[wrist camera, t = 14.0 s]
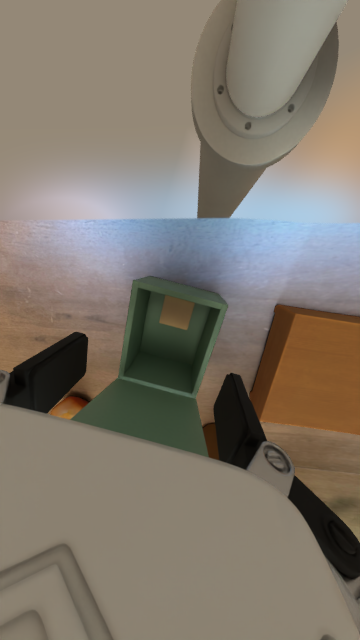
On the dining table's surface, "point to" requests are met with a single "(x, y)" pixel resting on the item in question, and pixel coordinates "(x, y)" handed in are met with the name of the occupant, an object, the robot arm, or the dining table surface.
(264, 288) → the dining table surface
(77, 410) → the fruit
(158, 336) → the chest
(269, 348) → the wooden box
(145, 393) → the lid
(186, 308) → the block
